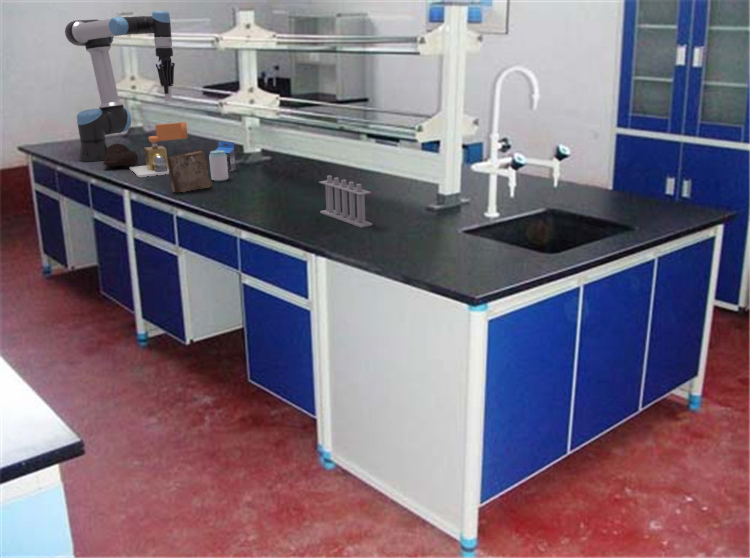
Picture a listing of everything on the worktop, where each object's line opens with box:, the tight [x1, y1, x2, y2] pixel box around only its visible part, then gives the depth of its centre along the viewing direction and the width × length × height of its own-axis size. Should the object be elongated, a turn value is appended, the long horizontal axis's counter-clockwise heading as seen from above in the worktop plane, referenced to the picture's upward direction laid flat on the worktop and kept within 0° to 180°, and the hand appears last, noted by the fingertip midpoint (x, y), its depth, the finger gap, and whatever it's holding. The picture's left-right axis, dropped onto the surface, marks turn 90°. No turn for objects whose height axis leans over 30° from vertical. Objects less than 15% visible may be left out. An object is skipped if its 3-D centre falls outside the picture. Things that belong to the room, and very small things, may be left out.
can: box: [208, 149, 229, 182], centre depth 322 cm, size 7×7×12 cm
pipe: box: [102, 143, 139, 168], centre depth 356 cm, size 10×15×15 cm
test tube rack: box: [318, 175, 373, 228], centre depth 256 cm, size 25×4×13 cm, turn 35°
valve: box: [143, 142, 168, 172], centre depth 345 cm, size 20×8×12 cm, turn 27°
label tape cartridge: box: [215, 141, 237, 173], centre depth 341 cm, size 9×4×12 cm, turn 62°
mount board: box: [129, 164, 170, 178], centre depth 346 cm, size 22×21×1 cm
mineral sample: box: [167, 149, 213, 194], centre depth 304 cm, size 17×4×15 cm, turn 126°
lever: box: [148, 121, 189, 143], centre depth 345 cm, size 17×4×7 cm, turn 117°
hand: (168, 100), depth 356 cm, fingers closed
